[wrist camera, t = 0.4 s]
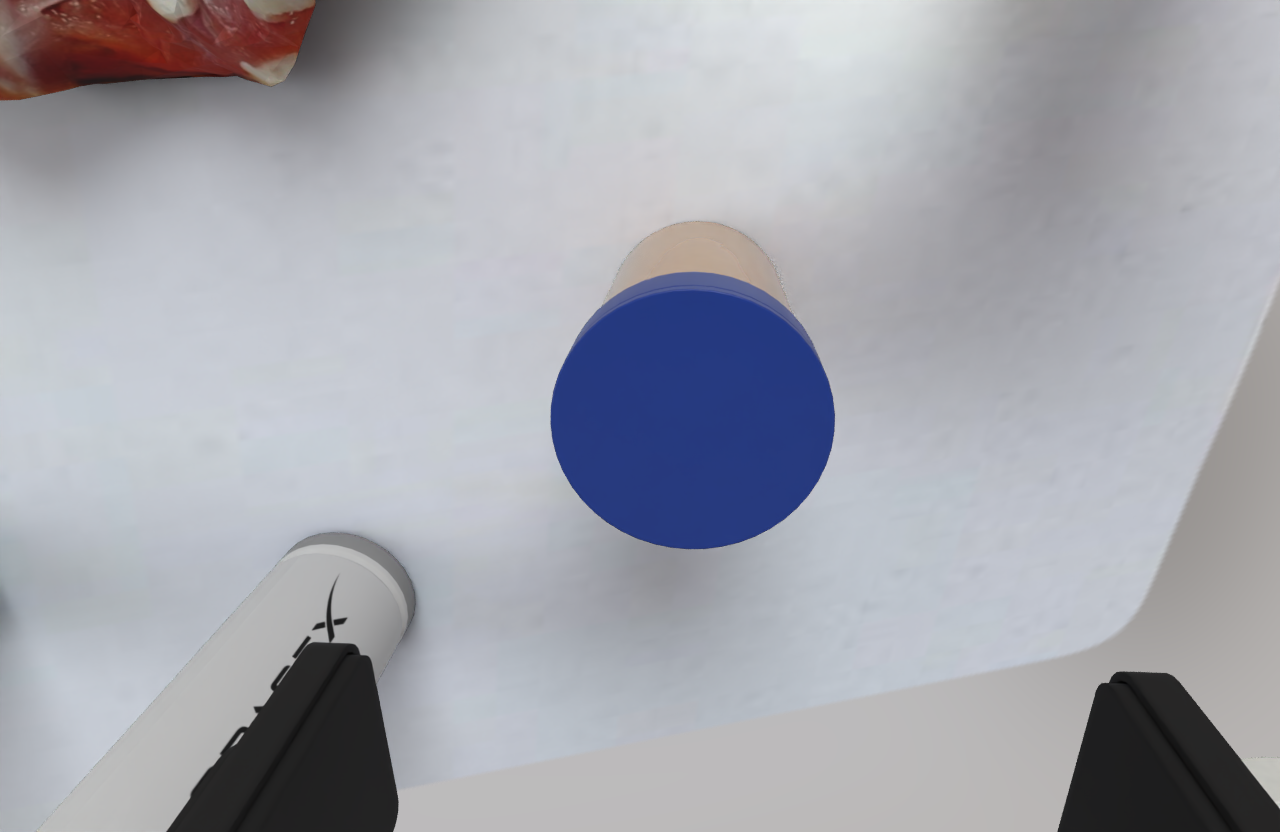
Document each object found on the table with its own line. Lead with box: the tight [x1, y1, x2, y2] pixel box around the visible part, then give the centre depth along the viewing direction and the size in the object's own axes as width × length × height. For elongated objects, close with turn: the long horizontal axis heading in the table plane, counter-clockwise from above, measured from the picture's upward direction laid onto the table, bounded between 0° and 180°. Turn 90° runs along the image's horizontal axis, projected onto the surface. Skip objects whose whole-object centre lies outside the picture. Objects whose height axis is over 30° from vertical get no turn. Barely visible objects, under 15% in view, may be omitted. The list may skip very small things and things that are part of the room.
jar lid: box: [551, 272, 835, 549], centre depth 20 cm, size 7×7×2 cm
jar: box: [602, 221, 792, 313], centre depth 24 cm, size 6×6×11 cm
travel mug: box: [36, 533, 415, 832], centre depth 26 cm, size 6×7×20 cm
